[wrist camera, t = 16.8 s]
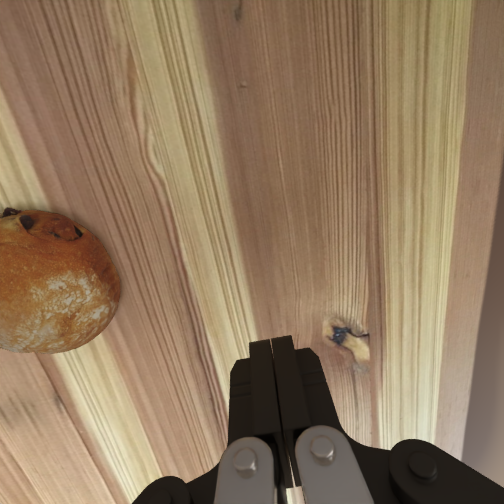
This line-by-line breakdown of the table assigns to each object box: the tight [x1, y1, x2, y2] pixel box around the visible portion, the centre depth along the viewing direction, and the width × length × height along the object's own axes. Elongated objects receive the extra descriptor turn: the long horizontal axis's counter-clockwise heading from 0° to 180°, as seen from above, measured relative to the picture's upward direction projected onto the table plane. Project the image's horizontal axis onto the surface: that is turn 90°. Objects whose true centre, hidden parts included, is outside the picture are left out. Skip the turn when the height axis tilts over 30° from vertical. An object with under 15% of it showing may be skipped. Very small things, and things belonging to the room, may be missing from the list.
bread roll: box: [0, 208, 120, 354], centre depth 22 cm, size 10×10×8 cm
